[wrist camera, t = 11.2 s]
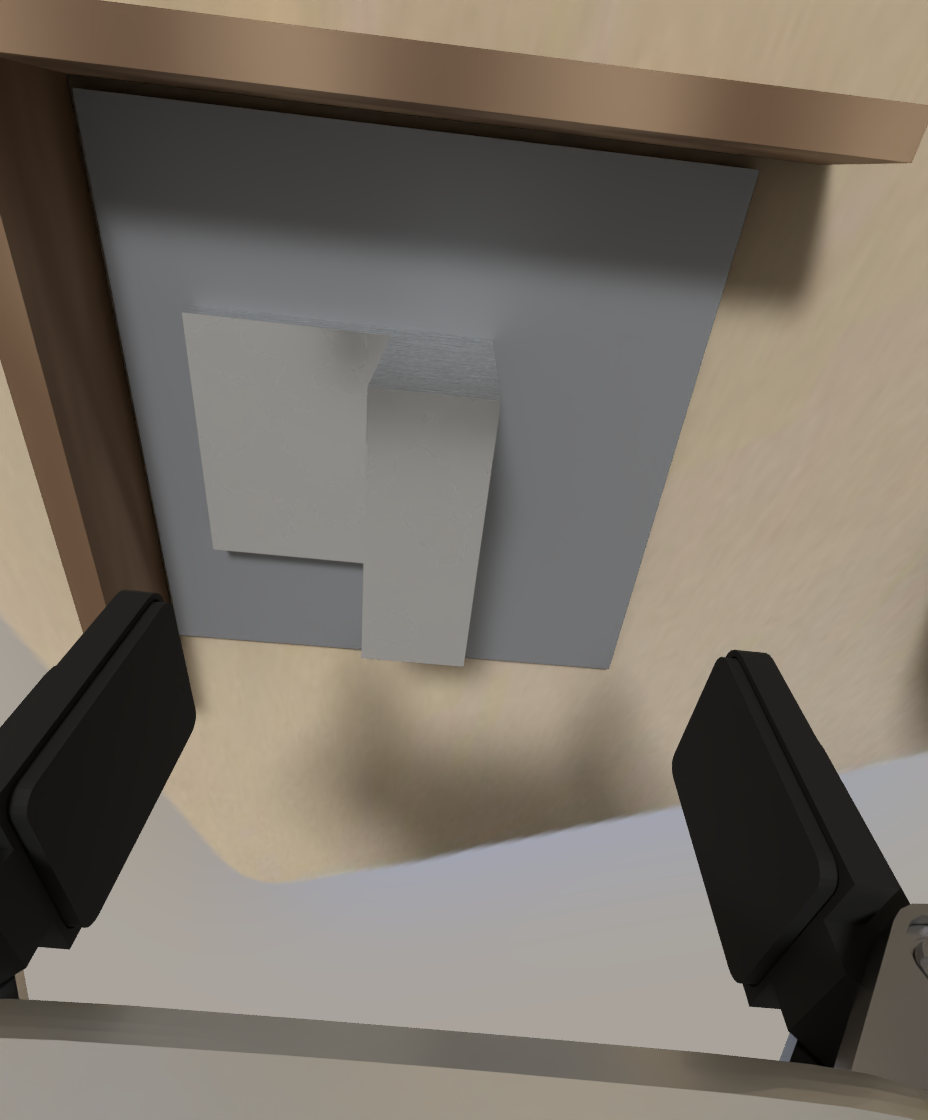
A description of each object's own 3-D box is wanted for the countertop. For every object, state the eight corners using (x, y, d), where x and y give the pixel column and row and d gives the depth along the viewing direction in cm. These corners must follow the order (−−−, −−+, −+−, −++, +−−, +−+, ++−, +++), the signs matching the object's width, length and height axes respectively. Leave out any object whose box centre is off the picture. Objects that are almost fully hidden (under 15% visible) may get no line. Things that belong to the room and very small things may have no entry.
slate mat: (754, 169, 17) (759, 169, 16) (607, 662, 26) (608, 669, 26) (79, 89, 16) (71, 87, 16) (182, 628, 26) (178, 634, 25)
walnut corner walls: (846, 96, 16) (947, 75, 12) (643, 679, 27) (668, 752, 23) (7, -11, 15) (-128, -63, 11) (154, 640, 26) (107, 711, 22)
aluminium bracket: (464, 558, 23) (463, 666, 18) (222, 535, 23) (152, 640, 18) (492, 339, 19) (500, 401, 14) (194, 305, 18) (90, 357, 13)
